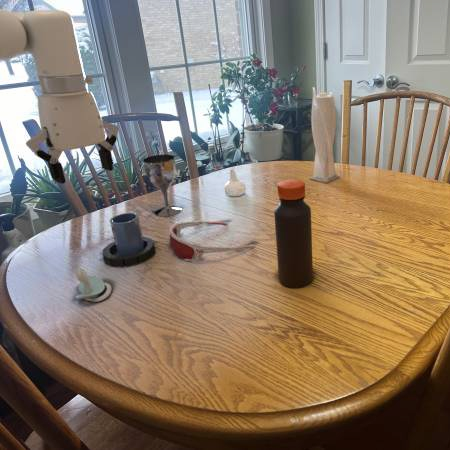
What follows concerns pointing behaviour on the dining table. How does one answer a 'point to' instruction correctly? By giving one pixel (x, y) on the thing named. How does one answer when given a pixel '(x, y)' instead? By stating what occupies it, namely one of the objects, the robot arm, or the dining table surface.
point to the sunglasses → (191, 250)
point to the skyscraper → (323, 136)
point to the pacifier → (91, 287)
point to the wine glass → (162, 179)
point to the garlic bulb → (234, 185)
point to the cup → (127, 234)
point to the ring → (130, 259)
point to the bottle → (293, 235)
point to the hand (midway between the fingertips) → (85, 175)
